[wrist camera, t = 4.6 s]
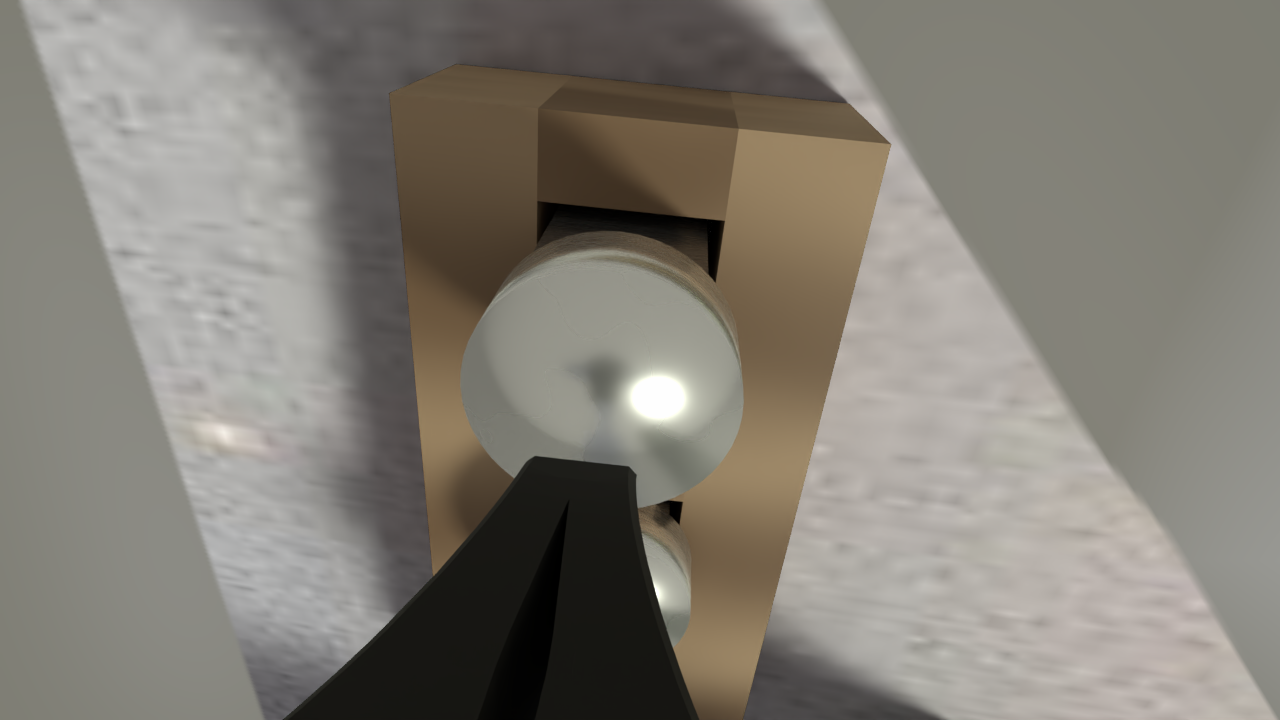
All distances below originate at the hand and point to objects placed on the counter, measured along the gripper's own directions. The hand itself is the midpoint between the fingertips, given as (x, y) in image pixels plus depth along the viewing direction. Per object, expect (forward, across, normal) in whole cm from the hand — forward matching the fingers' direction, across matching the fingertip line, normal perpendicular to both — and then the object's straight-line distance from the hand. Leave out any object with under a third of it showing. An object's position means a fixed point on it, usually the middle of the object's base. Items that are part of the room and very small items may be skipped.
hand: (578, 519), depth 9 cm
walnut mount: (+10, 0, +7) cm, 12 cm away
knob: (+8, 0, 0) cm, 8 cm away
